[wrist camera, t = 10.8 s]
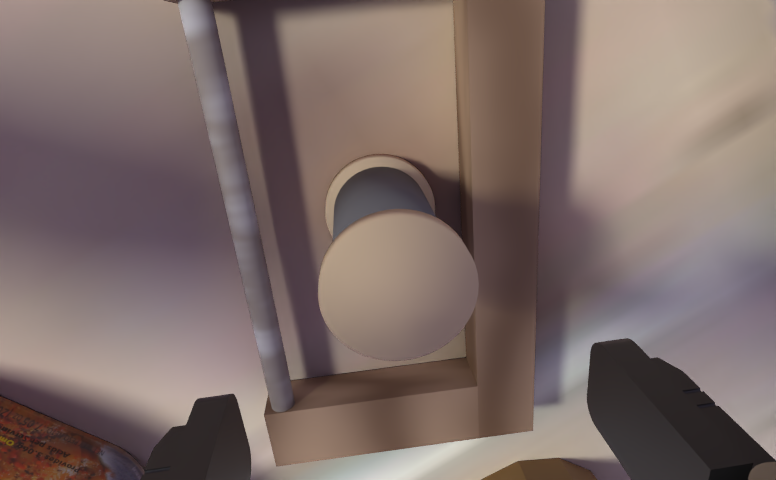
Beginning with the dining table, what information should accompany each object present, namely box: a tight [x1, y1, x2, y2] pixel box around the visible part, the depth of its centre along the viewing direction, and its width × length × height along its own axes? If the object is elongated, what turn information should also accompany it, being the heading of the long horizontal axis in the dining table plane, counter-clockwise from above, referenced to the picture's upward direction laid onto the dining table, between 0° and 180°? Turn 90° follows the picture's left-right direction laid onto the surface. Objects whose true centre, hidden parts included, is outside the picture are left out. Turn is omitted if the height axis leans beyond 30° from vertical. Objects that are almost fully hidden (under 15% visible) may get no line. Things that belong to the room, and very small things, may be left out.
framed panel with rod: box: [164, 0, 545, 466], centre depth 23 cm, size 14×26×2 cm, turn 5°
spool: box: [318, 154, 479, 361], centre depth 20 cm, size 5×5×9 cm
